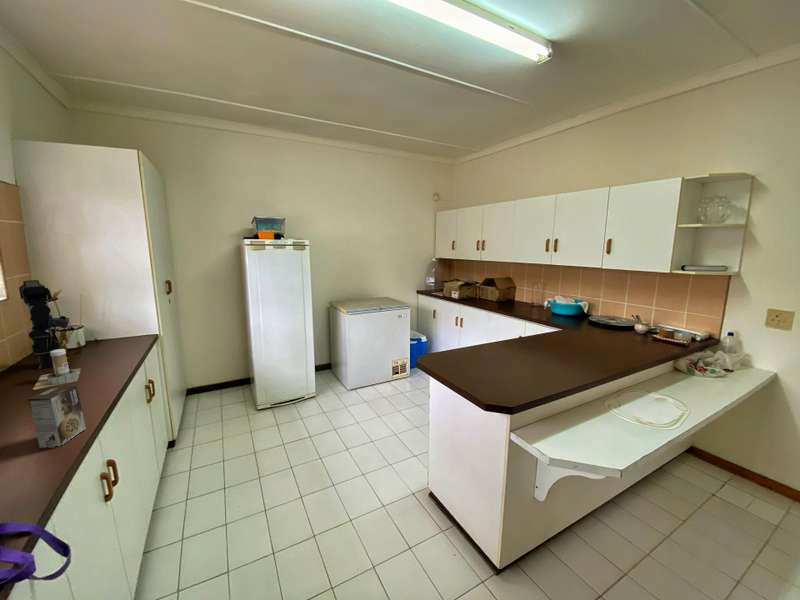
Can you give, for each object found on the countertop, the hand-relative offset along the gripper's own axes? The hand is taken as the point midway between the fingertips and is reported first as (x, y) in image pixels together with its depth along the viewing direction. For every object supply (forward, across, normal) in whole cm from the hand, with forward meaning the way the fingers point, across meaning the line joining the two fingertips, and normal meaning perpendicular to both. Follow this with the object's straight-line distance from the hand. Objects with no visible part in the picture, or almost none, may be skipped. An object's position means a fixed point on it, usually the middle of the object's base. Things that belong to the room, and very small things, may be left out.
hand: (47, 347), depth 147 cm
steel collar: (+12, -14, -5) cm, 19 cm away
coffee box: (+13, -71, -10) cm, 73 cm away
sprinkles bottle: (+12, -14, -5) cm, 19 cm away
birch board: (+13, -10, -3) cm, 17 cm away
